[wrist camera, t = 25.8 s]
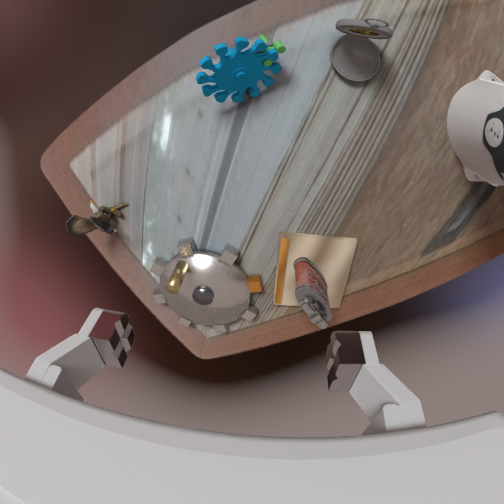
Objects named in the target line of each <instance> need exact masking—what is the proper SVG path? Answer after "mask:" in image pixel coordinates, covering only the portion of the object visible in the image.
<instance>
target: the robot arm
mask: <svg viewBox="0 0 504 504" xmlns="http://www.w3.org/2000/svg"><path fill="white" fill-rule="evenodd" d="M492 79H494V81H495V82H494V81H491V80H492ZM447 130H448V136H449V140H450V143H451V146H452V148H453V150H454V152H455V154H456V155H457V157H458V158H459V160H460V161H461V163H462V165H463V169H464V173H465V176H466V178H467V180H469V181H487V182H488V183H490V184H492V185H493V186H496V187H497V186H498V185H504V82H503V81H502V80H500V79H499V78H498V77H497V76H495V75H494V74H493V73H491V72H490V71H487V70H486V71H484V72H483V73H482V74H481V75H480V76H479V77H478V79H476V80H475V81H473V82H470V83H468V84H466V85H465V86H463V87H462V88H461V89H460V90H459V91H458V92H457V93H456V94H455V96H454V97H453V99H452V101H451V104H450V107H449V110H448V116H447ZM475 175H477V177H475ZM129 321H130V319H129V316H128V314H126V313H121V312H116V311H111V310H106V309H100V308H95V309H93V310H92V312H91V314H90V315H89V317H88V318H87V320H86V322H85V323H84V325H83V327H82V328H81V330H80V332H79V333H78V334H74V335H73V336H71V337H69V338H68V339H66V340H65V341H63V342H61V343H59V344H58V345H56V346H55V347H53V348H52V349H50V350H48V351H47V352H45V353H43V354H42V355H40V356H39V357H37V358H36V359H35V361H34V363H33V365H32V366H31V368H30V370H29V371H28V373H27V375H26V377H25V378H24V379H23V378H21V377H19V376H17V375H15V374H13V373H11V372H9V371H7V370H5V369H2V368H1V367H0V504H504V415H502V414H501V413H500V412H498V411H492V412H488V413H484V414H481V415H477V416H473V417H470V418H466V419H462V420H457V421H453V422H449V423H444V424H440V425H434V426H429V427H426V423H425V419H424V415H423V411H422V407H421V403H420V400H419V399H418V398H417V397H416V396H415V395H414V394H413V393H412V392H411V391H410V390H409V389H408V388H407V387H406V386H405V385H404V384H403V383H402V382H401V381H400V380H399V379H398V378H397V377H396V376H395V375H394V374H392V373H391V371H390V370H389V369H388V368H387V367H385V365H383V364H379V360H378V355H377V351H376V347H375V344H374V340H373V336H372V333H371V332H370V331H369V332H368V331H363V332H361V331H359V332H357V331H333V333H332V335H331V344H329V345H328V348H327V353H326V368H327V369H328V370H329V374H328V376H327V379H328V390H329V391H349V393H350V394H351V395H352V397H353V398H354V399H355V401H356V402H357V403H358V405H359V406H360V408H361V409H362V410H363V411H364V413H365V414H366V416H367V417H368V418H369V420H370V421H371V424H370V425H369V426H368V427H367V428H366V430H365V431H364V432H363V433H362V435H360V436H345V437H318V438H317V437H314V438H313V437H312V438H311V437H307V438H306V437H300V438H299V437H269V436H254V435H242V434H232V433H223V432H215V431H207V430H200V429H193V428H187V427H181V426H176V425H171V424H166V423H161V422H156V421H151V420H147V419H143V418H139V417H135V416H131V415H127V414H123V413H119V412H115V411H112V410H108V409H104V408H101V407H98V406H95V405H92V404H88V403H85V402H83V398H82V396H81V395H80V394H79V393H78V391H77V390H78V389H79V388H81V387H82V386H83V385H84V384H85V383H86V382H88V381H89V380H90V379H91V378H92V377H93V376H95V375H96V374H97V373H98V372H99V371H100V370H102V369H103V368H104V367H105V365H106V366H111V367H116V368H121V369H122V368H123V366H124V364H125V361H126V359H127V353H126V352H127V351H128V350H130V349H131V348H132V345H133V343H134V330H133V328H132V326H131V325H130V324H129Z"/></svg>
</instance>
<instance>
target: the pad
mask: <svg viewBox="0 0 504 504" xmlns="http://www.w3.org/2000/svg"><path fill="white" fill-rule="evenodd" d="M356 246H357V239H356V238H348V237H336V236H325V235H313V234H300V233H288V232H280V240H279V250H278V260H277V270H276V279H275V288H274V298H273V304H274V305H288V306H300V305H299V303H298V301H297V299H296V297H295V289H296V280H295V270H294V266H293V264H294V261H295V260H296V259H297V258H299V257H306V258H308V259H309V260H310V261H311V262H313V263H314V264H315V265H316V266H317V268H318V269H319V270H320V271H321V273H322V274H323V276H324V278H325V280H326V282H327V286H328V289H327V294H328V300H329V306H330V308H340V304H341V301H342V298H343V294H344V291H345V287H346V284H347V280H348V276H349V273H350V269H351V265H352V261H353V257H354V254H355V250H356Z"/></svg>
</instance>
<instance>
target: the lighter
mask: <svg viewBox="0 0 504 504" xmlns="http://www.w3.org/2000/svg"><path fill="white" fill-rule="evenodd" d="M293 266H294V270H295V280H296V289H295V297H296V299H297V301H298V303H299V305H300V306H301V307H302V309H303V310H304V311H305V312H306V313H307V314H308V315H309V318H310V320H311V322H312V323H313V324H315V323H316V324H317V325H318V326H319V327H320V328H321V329H324V328H326V327H327V322H328V321H330V320H331V319H332V311H331V309H330V306H329V300H328V294H327V289H328V286H327V282H326V280H325V278H324V276H323V274H322V273H321V271H320V270H319V269H318V268H317V266H316V265H315V264H314V263H313V262H311V261H310V260H309V259H308V258H306V257H299V258H297V259H296V260H295V261H294V264H293Z"/></svg>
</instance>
